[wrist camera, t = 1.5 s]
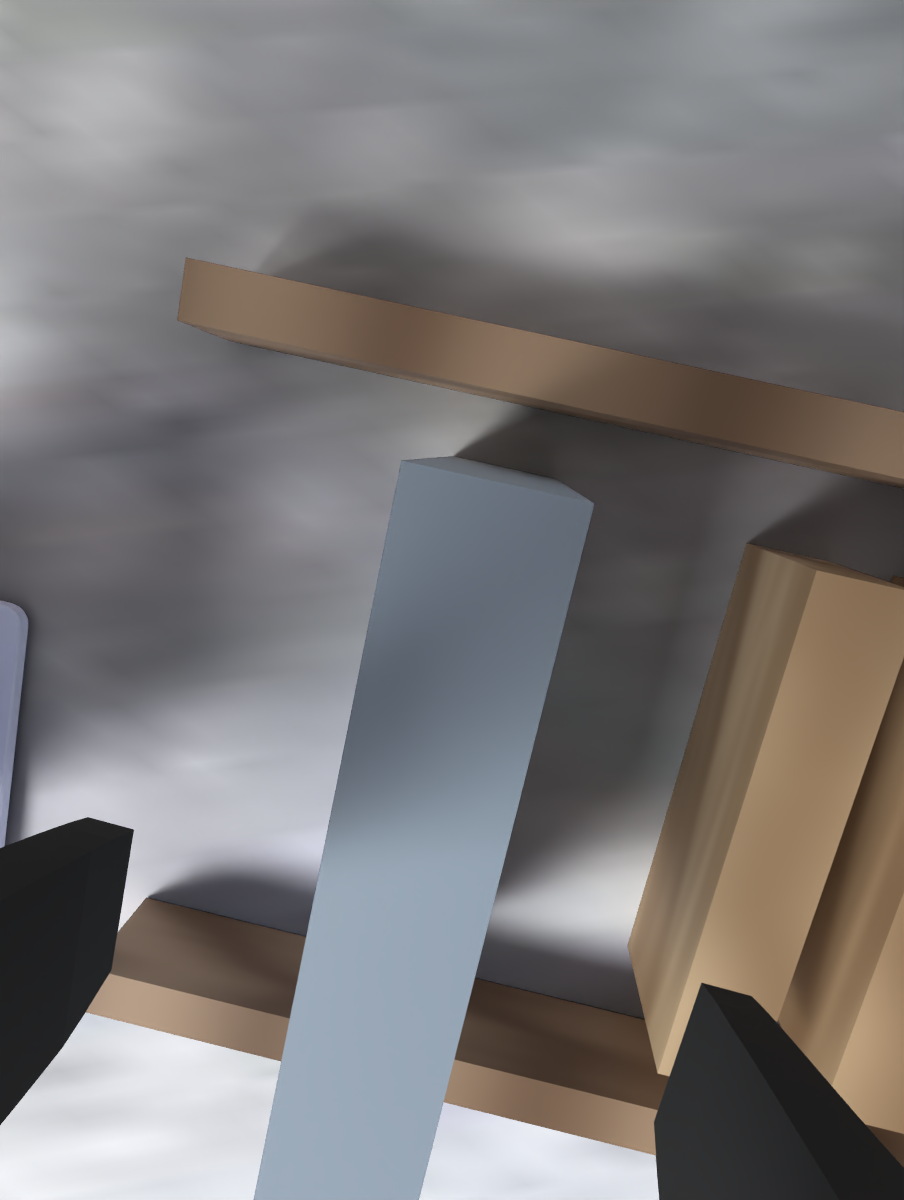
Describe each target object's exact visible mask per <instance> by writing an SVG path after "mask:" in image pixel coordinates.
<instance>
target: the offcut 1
mask: <svg viewBox="0 0 904 1200" xmlns="http://www.w3.org/2000/svg"><path fill="white" fill-rule="evenodd" d="M903 658H904V587H902V586H899V585H896V584H893V583H890V582H887V581H884V580H881V579H879V578H876V577H873V576H870V575H867V574H864V573H861V572H858V571H855V570H853V569H850V568H847V567H844V566H841V565H838V564H835V563H832V562H829V561H824V560H820V559H816V558H811V557H807V556H802V555H798V554H793V553H789V552H784V551H780V550H775V549H771V548H766V547H762V546H757V545H753V544H748V543H747V544H746V547H745V550H744V554H743V557H742V561H741V564H740V567H739V571H738V574H737V578H736V581H735V584H734V588H733V591H732V594H731V598H730V601H729V605H728V608H727V611H726V615H725V618H724V621H723V625H722V628H721V632H720V635H719V638H718V642H717V645H716V648H715V652H714V655H713V659H712V662H711V665H710V669H709V672H708V676H707V679H706V682H705V686H704V689H703V692H702V696H701V699H700V703H699V706H698V709H697V713H696V716H695V719H694V723H693V726H692V730H691V733H690V736H689V740H688V743H687V746H686V750H685V753H684V757H683V760H682V763H681V767H680V770H679V774H678V777H677V780H676V784H675V787H674V790H673V794H672V797H671V801H670V804H669V807H668V811H667V814H666V817H665V821H664V824H663V828H662V831H661V834H660V838H659V841H658V844H657V848H656V851H655V855H654V858H653V861H652V865H651V868H650V872H649V875H648V878H647V882H646V885H645V888H644V892H643V895H642V899H641V902H640V905H639V909H638V912H637V915H636V919H635V922H634V926H633V929H632V932H631V936H630V939H629V942H628V949H629V954H630V958H631V962H632V966H633V971H634V975H635V979H636V983H637V988H638V992H639V996H640V1000H641V1005H642V1009H643V1013H644V1017H645V1022H646V1026H647V1030H648V1034H649V1039H650V1043H651V1047H652V1052H653V1056H654V1060H655V1064H656V1069H657V1073H658V1074H662V1075H666V1076H670V1073H671V1070H672V1067H673V1064H674V1062H675V1059H676V1056H677V1053H678V1050H679V1047H680V1044H681V1041H682V1038H683V1035H684V1032H685V1029H686V1026H687V1023H688V1021H689V1018H690V1015H691V1012H692V1009H693V1006H694V1003H695V1000H696V997H697V994H698V991H699V988H700V985H701V983H705V984H709V985H713V986H716V987H720V988H724V989H727V990H731V991H735V992H739V993H742V994H746V995H750V996H752V997H753V998H754V999H755V1000H756V1001H757V1002H758V1003H759V1004H760V1005H761V1006H762V1007H763V1008H764V1009H765V1010H766V1011H767V1012H768V1013H769V1014H770V1016H771V1017H772V1018H773V1019H774V1020H775V1021H776V1022H777V1021H778V1018H779V1015H780V1012H781V1009H782V1006H783V1004H784V1001H785V998H786V995H787V992H788V989H789V986H790V983H791V981H792V978H793V975H794V972H795V969H796V966H797V963H798V960H799V957H800V955H801V952H802V949H803V946H804V943H805V940H806V937H807V934H808V932H809V929H810V926H811V923H812V920H813V917H814V914H815V911H816V909H817V906H818V903H819V900H820V897H821V894H822V891H823V888H824V885H825V883H826V880H827V877H828V874H829V871H830V868H831V865H832V862H833V860H834V857H835V854H836V851H837V848H838V845H839V842H840V839H841V837H842V834H843V831H844V828H845V825H846V822H847V819H848V816H849V813H850V811H851V808H852V805H853V802H854V799H855V796H856V793H857V790H858V788H859V785H860V782H861V779H862V776H863V773H864V770H865V767H866V765H867V762H868V759H869V756H870V753H871V750H872V747H873V744H874V741H875V739H876V736H877V733H878V730H879V727H880V724H881V721H882V718H883V716H884V713H885V710H886V707H887V704H888V701H889V698H890V695H891V693H892V690H893V687H894V684H895V681H896V678H897V675H898V672H899V669H900V667H901V664H902V661H903Z"/></svg>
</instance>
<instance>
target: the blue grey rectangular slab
mask: <svg viewBox="0 0 904 1200" xmlns="http://www.w3.org/2000/svg"><path fill="white" fill-rule="evenodd" d="M593 508H594V503H593V502H591V501H590V500H588V499H587V498H585V497H583V496H582V495H580V494H579V493H577V492H576V491H574V490H572V489H571V488H569V487H568V486H566V485H565V484H563V483H561V482H560V481H558V480H557V479H554V478H549V477H545V476H540V475H536V474H531V473H527V472H522V471H518V470H513V469H509V468H504V467H500V466H495V465H491V464H486V463H482V462H477V461H473V460H468V459H464V458H459V457H455V456H450V457H438V458H426V459H414V460H403V461H401V465H400V470H399V475H398V480H397V485H396V490H395V495H394V500H393V505H392V510H391V515H390V520H389V525H388V530H387V535H386V540H385V545H384V550H383V555H382V560H381V565H380V570H379V575H378V580H377V585H376V590H375V595H374V600H373V605H372V610H371V615H370V620H369V625H368V630H367V635H366V640H365V645H364V650H363V655H362V660H361V665H360V670H359V675H358V680H357V685H356V690H355V695H354V700H353V705H352V710H351V715H350V720H349V725H348V730H347V735H346V740H345V745H344V750H343V755H342V760H341V765H340V770H339V775H338V780H337V785H336V790H335V795H334V800H333V805H332V810H331V815H330V820H329V825H328V830H327V835H326V840H325V845H324V850H323V855H322V860H321V865H320V870H319V875H318V880H317V885H316V890H315V895H314V900H313V905H312V910H311V915H310V920H309V925H308V930H307V935H306V940H305V945H304V950H303V955H302V960H301V965H300V970H299V975H298V980H297V985H296V990H295V995H294V1000H293V1005H292V1010H291V1015H290V1020H289V1025H288V1030H287V1035H286V1040H285V1045H284V1050H283V1055H282V1060H281V1065H280V1070H279V1075H278V1080H277V1085H276V1090H275V1095H274V1100H273V1105H272V1110H271V1115H270V1120H269V1125H268V1130H267V1135H266V1140H265V1145H264V1150H263V1155H262V1160H261V1165H260V1170H259V1175H258V1180H257V1185H256V1190H255V1195H254V1200H419V1197H420V1193H421V1189H422V1185H423V1181H424V1177H425V1173H426V1169H427V1165H428V1162H429V1158H430V1154H431V1150H432V1146H433V1142H434V1138H435V1134H436V1130H437V1126H438V1122H439V1118H440V1114H441V1110H442V1106H443V1102H444V1098H445V1094H446V1090H447V1086H448V1082H449V1078H450V1074H451V1070H452V1066H453V1062H454V1058H455V1055H456V1051H457V1047H458V1043H459V1039H460V1035H461V1031H462V1027H463V1023H464V1019H465V1015H466V1011H467V1007H468V1003H469V999H470V995H471V991H472V987H473V983H474V979H475V975H476V971H477V967H478V963H479V959H480V955H481V951H482V948H483V944H484V940H485V936H486V932H487V928H488V924H489V920H490V916H491V912H492V908H493V904H494V900H495V896H496V892H497V888H498V884H499V880H500V876H501V872H502V868H503V864H504V860H505V856H506V852H507V848H508V845H509V841H510V837H511V833H512V829H513V825H514V821H515V817H516V813H517V809H518V805H519V801H520V797H521V793H522V789H523V785H524V781H525V777H526V773H527V769H528V765H529V761H530V757H531V753H532V749H533V745H534V741H535V738H536V734H537V730H538V726H539V722H540V718H541V714H542V710H543V706H544V702H545V698H546V694H547V690H548V686H549V682H550V678H551V674H552V670H553V666H554V662H555V658H556V654H557V650H558V646H559V642H560V638H561V635H562V631H563V627H564V623H565V619H566V615H567V611H568V607H569V603H570V599H571V595H572V591H573V587H574V583H575V579H576V575H577V571H578V567H579V563H580V559H581V555H582V551H583V547H584V543H585V539H586V535H587V531H588V528H589V524H590V520H591V516H592V512H593Z"/></svg>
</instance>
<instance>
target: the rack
mask: <svg viewBox="0 0 904 1200" xmlns="http://www.w3.org/2000/svg"><path fill="white" fill-rule="evenodd" d="M177 320H178V321H180V322H183V323H185V324H188V325H191V326H193V327H196V328H198V329H201V330H203V331H206V332H209V333H211V334H214V335H216V336H219V337H221V338H224V339H226V340H229V341H232V342H237V343H241V344H246V345H251V346H255V347H260V348H264V349H269V350H273V351H278V352H283V353H287V354H292V355H296V356H301V357H305V358H310V359H315V360H319V361H324V362H328V363H333V364H337V365H342V366H347V367H351V368H356V369H360V370H365V371H369V372H374V373H379V374H383V375H388V376H392V377H397V378H401V379H406V380H411V381H415V382H420V383H424V384H429V385H433V386H438V387H443V388H447V389H452V390H456V391H461V392H465V393H470V394H475V395H479V396H484V397H488V398H493V399H498V400H502V401H507V402H511V403H516V404H520V405H525V406H530V407H534V408H539V409H543V410H548V411H552V412H557V413H562V414H566V415H571V416H575V417H580V418H584V419H589V420H594V421H598V422H603V423H607V424H612V425H616V426H621V427H626V428H630V429H635V430H639V431H644V432H648V433H653V434H658V435H662V436H667V437H671V438H676V439H680V440H685V441H690V442H694V443H699V444H703V445H708V446H712V447H717V448H722V449H726V450H731V451H735V452H740V453H744V454H749V455H754V456H758V457H763V458H767V459H772V460H776V461H781V462H786V463H790V464H795V465H799V466H804V467H808V468H813V469H818V470H822V471H827V472H831V473H836V474H840V475H845V476H850V477H854V478H859V479H863V480H868V481H873V482H877V483H882V484H886V485H891V486H895V487H900V488H904V412H901V411H896V410H892V409H887V408H882V407H878V406H873V405H869V404H864V403H859V402H855V401H850V400H845V399H841V398H836V397H831V396H827V395H822V394H817V393H813V392H808V391H803V390H799V389H794V388H790V387H785V386H780V385H776V384H771V383H766V382H762V381H757V380H752V379H748V378H743V377H738V376H734V375H729V374H725V373H720V372H715V371H711V370H706V369H701V368H697V367H692V366H687V365H683V364H678V363H673V362H669V361H664V360H659V359H655V358H650V357H646V356H641V355H636V354H632V353H627V352H622V351H618V350H613V349H608V348H604V347H599V346H594V345H590V344H585V343H581V342H576V341H571V340H567V339H562V338H557V337H553V336H548V335H543V334H539V333H534V332H529V331H525V330H520V329H515V328H511V327H506V326H502V325H497V324H492V323H488V322H483V321H478V320H474V319H469V318H464V317H460V316H455V315H450V314H446V313H441V312H437V311H432V310H427V309H423V308H418V307H413V306H409V305H404V304H399V303H395V302H390V301H385V300H381V299H376V298H371V297H367V296H362V295H358V294H353V293H348V292H344V291H339V290H334V289H330V288H325V287H320V286H316V285H311V284H306V283H302V282H297V281H293V280H288V279H283V278H279V277H274V276H269V275H265V274H260V273H255V272H251V271H246V270H241V269H237V268H232V267H227V266H223V265H218V264H214V263H209V262H204V261H200V260H195V259H190V258H186V260H185V268H184V275H183V282H182V290H181V297H180V304H179V311H178V319H177ZM305 940H306V937H304V936H300V935H296V934H292V933H288V932H284V931H280V930H276V929H272V928H268V927H264V926H260V925H255V924H251V923H247V922H243V921H239V920H235V919H231V918H227V917H223V916H219V915H215V914H211V913H207V912H202V911H198V910H194V909H190V908H186V907H182V906H178V905H174V904H170V903H166V902H162V901H158V900H153V899H149V898H146V899H145V900H144V901H143V902H142V904H141V905H140V906H139V907H138V909H137V910H136V911H135V912H134V913H133V915H132V916H131V917H130V918H129V919H128V921H127V922H126V923H125V924H124V926H123V927H122V928H121V929H120V930H119V932H118V933H117V938H116V945H115V951H114V957H113V964H112V970H111V972H110V973H109V975H108V977H107V978H106V980H105V982H104V983H103V985H102V986H101V988H100V990H99V991H98V993H97V994H96V996H95V998H94V999H93V1001H92V1002H91V1004H90V1006H89V1007H88V1009H87V1011H86V1012H87V1013H91V1014H95V1015H99V1016H103V1017H107V1018H111V1019H115V1020H119V1021H123V1022H127V1023H131V1024H135V1025H139V1026H143V1027H147V1028H150V1029H154V1030H158V1031H162V1032H166V1033H170V1034H174V1035H178V1036H182V1037H186V1038H190V1039H194V1040H198V1041H202V1042H206V1043H210V1044H214V1045H218V1046H222V1047H226V1048H230V1049H234V1050H238V1051H242V1052H246V1053H250V1054H254V1055H258V1056H262V1057H266V1058H270V1059H274V1060H278V1061H281V1060H282V1055H283V1050H284V1045H285V1040H286V1035H287V1030H288V1025H289V1020H290V1015H291V1010H292V1005H293V1000H294V995H295V990H296V985H297V980H298V975H299V970H300V965H301V960H302V955H303V950H304V945H305ZM668 1079H669V1076H666V1075H662V1074H658V1073H657V1069H656V1064H655V1060H654V1056H653V1052H652V1047H651V1043H650V1039H649V1034H648V1030H647V1026H646V1022H645V1020H643V1019H639V1018H635V1017H631V1016H627V1015H623V1014H619V1013H615V1012H611V1011H607V1010H602V1009H598V1008H594V1007H590V1006H586V1005H582V1004H578V1003H574V1002H570V1001H566V1000H562V999H558V998H553V997H549V996H545V995H541V994H537V993H533V992H529V991H525V990H521V989H517V988H513V987H509V986H504V985H500V984H496V983H492V982H488V981H484V980H480V979H476V978H475V979H474V983H473V987H472V991H471V995H470V999H469V1003H468V1007H467V1011H466V1015H465V1019H464V1023H463V1027H462V1031H461V1035H460V1039H459V1043H458V1047H457V1051H456V1055H455V1058H454V1062H453V1066H452V1070H451V1074H450V1078H449V1082H448V1086H447V1090H446V1094H445V1098H444V1102H445V1103H449V1104H453V1105H457V1106H461V1107H465V1108H469V1109H473V1110H477V1111H481V1112H485V1113H489V1114H493V1115H497V1116H501V1117H505V1118H509V1119H513V1120H517V1121H521V1122H525V1123H529V1124H533V1125H537V1126H541V1127H545V1128H549V1129H553V1130H557V1131H561V1132H565V1133H569V1134H573V1135H577V1136H581V1137H585V1138H589V1139H593V1140H597V1141H601V1142H605V1143H609V1144H613V1145H617V1146H621V1147H625V1148H629V1149H633V1150H637V1151H641V1152H645V1153H649V1154H653V1155H656V1147H655V1132H654V1120H655V1117H656V1114H657V1111H658V1108H659V1105H660V1103H661V1100H662V1097H663V1094H664V1091H665V1088H666V1085H667V1082H668ZM865 1125H866V1124H865ZM866 1126H867V1127H868V1128H869V1129H870V1130H871V1131H872V1133H873V1134H874V1135H875V1136H876V1137H877V1138H878V1139H879V1141H880V1142H881V1143H882V1144H883V1145H884V1146H885V1147H886V1148H887V1149H888V1151H889V1152H890V1153H891V1154H892V1155H893V1156H894V1157H895V1158H896V1160H897V1161H898V1162H899V1163H900V1164H901V1165H902V1166H903V1167H904V1134H902V1133H898V1132H894V1131H890V1130H886V1129H882V1128H878V1127H874V1126H870V1125H866Z"/></svg>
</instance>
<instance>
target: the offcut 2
mask: <svg viewBox="0 0 904 1200" xmlns="http://www.w3.org/2000/svg"><path fill="white" fill-rule="evenodd" d="M891 583H893V584H896V585H899V586H902V587H904V578H902V577H897V576H893V578H892V581H891ZM778 1021H779V1023H780V1025H781V1028H782V1029H783V1030H784V1031H785V1032H786V1034H787V1035H788V1036H789V1037H790V1038H791V1039H792V1040H793V1042H794V1043H795V1044H796V1045H797V1046H798V1047H799V1048H800V1050H801V1051H802V1052H803V1053H804V1054H805V1055H806V1057H807V1058H808V1059H809V1060H810V1061H811V1062H812V1064H813V1065H814V1066H815V1067H816V1068H817V1069H818V1071H819V1072H820V1073H821V1074H822V1075H823V1076H824V1077H825V1079H826V1080H827V1081H828V1082H829V1083H830V1084H831V1086H832V1087H833V1088H834V1089H835V1090H836V1091H837V1093H838V1094H839V1095H840V1096H841V1097H842V1098H843V1099H844V1101H845V1102H846V1103H847V1104H848V1105H849V1106H850V1108H851V1109H852V1110H853V1111H854V1112H855V1113H856V1114H857V1116H858V1117H859V1118H860V1119H861V1120H862V1121H863V1122H864V1124H866V1125H870V1126H874V1127H878V1128H882V1129H886V1130H890V1131H894V1132H898V1133H902V1134H904V658H903V661H902V664H901V667H900V669H899V672H898V675H897V678H896V681H895V684H894V687H893V690H892V693H891V695H890V698H889V701H888V704H887V707H886V710H885V713H884V716H883V718H882V721H881V724H880V727H879V730H878V733H877V736H876V739H875V741H874V744H873V747H872V750H871V753H870V756H869V759H868V762H867V765H866V767H865V770H864V773H863V776H862V779H861V782H860V785H859V788H858V790H857V793H856V796H855V799H854V802H853V805H852V808H851V811H850V813H849V816H848V819H847V822H846V825H845V828H844V831H843V834H842V837H841V839H840V842H839V845H838V848H837V851H836V854H835V857H834V860H833V862H832V865H831V868H830V871H829V874H828V877H827V880H826V883H825V885H824V888H823V891H822V894H821V897H820V900H819V903H818V906H817V909H816V911H815V914H814V917H813V920H812V923H811V926H810V929H809V932H808V934H807V937H806V940H805V943H804V946H803V949H802V952H801V955H800V957H799V960H798V963H797V966H796V969H795V972H794V975H793V978H792V981H791V983H790V986H789V989H788V992H787V995H786V998H785V1001H784V1004H783V1006H782V1009H781V1012H780V1015H779V1018H778Z"/></svg>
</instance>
